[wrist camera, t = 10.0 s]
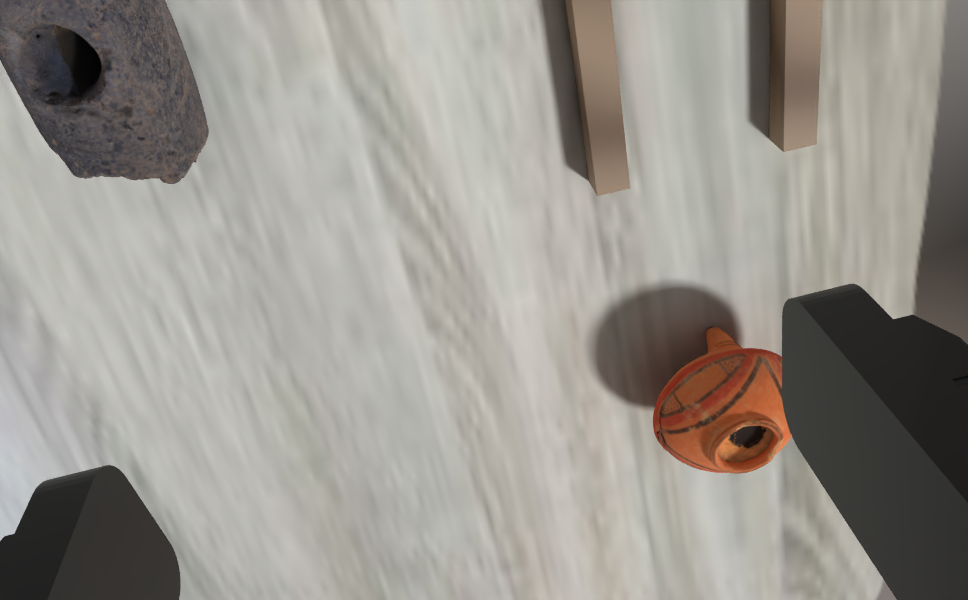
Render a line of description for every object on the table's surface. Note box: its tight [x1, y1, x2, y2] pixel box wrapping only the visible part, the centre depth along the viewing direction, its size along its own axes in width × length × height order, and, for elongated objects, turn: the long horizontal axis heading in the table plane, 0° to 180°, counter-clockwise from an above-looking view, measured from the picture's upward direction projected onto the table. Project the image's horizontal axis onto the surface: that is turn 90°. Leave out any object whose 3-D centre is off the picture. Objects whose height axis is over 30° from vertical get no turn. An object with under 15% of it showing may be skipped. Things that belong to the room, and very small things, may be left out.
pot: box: [653, 327, 792, 473], centre depth 42 cm, size 8×8×7 cm
